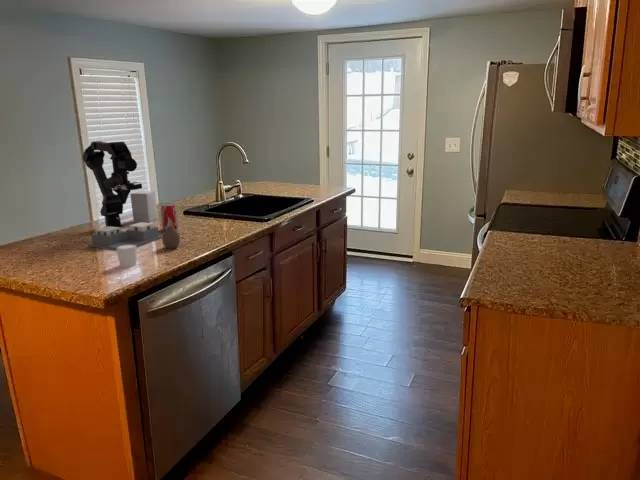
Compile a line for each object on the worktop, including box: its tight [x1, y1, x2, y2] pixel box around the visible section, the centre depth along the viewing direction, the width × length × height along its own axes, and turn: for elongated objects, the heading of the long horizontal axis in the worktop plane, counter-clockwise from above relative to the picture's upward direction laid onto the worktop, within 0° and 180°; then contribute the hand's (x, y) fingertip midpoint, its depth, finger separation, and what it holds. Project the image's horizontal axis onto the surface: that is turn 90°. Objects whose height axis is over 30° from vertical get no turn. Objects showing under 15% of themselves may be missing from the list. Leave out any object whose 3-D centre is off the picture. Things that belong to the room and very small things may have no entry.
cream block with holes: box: [128, 222, 155, 231], centre depth 214 cm, size 7×7×6 cm
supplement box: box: [129, 190, 158, 223], centre depth 250 cm, size 9×9×15 cm
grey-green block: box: [94, 226, 122, 236], centre depth 207 cm, size 7×7×6 cm
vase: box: [161, 226, 181, 250], centre depth 201 cm, size 7×7×9 cm
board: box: [87, 226, 163, 251], centre depth 211 cm, size 20×23×5 cm
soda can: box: [160, 202, 179, 231], centre depth 232 cm, size 7×7×12 cm
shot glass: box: [116, 245, 138, 268], centre depth 179 cm, size 7×7×7 cm
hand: (123, 203), depth 227 cm, fingers closed
